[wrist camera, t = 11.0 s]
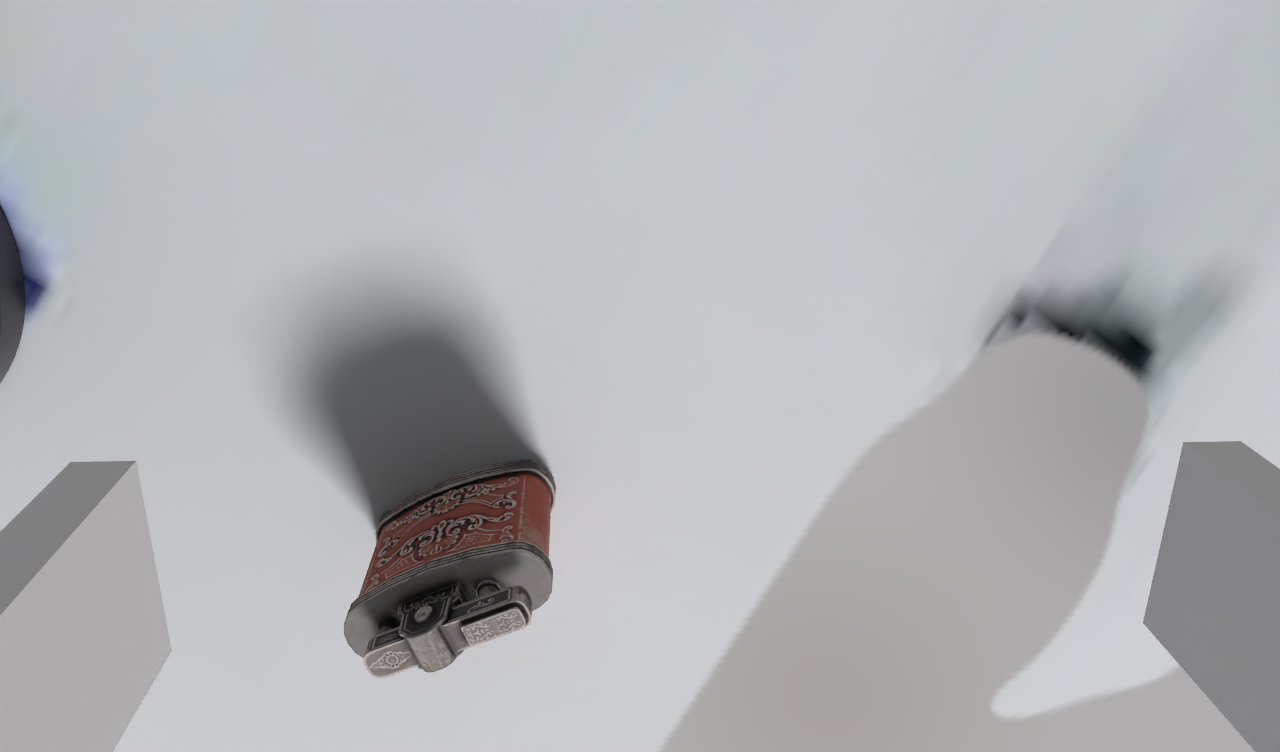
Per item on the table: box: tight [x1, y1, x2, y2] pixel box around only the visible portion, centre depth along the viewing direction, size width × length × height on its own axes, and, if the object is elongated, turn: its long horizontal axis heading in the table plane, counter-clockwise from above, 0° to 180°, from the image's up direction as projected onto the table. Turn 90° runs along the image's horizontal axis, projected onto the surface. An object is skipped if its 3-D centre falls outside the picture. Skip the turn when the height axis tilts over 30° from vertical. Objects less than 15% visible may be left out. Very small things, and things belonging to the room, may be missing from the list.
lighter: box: [344, 460, 556, 678], centre depth 40 cm, size 8×3×10 cm, turn 111°
